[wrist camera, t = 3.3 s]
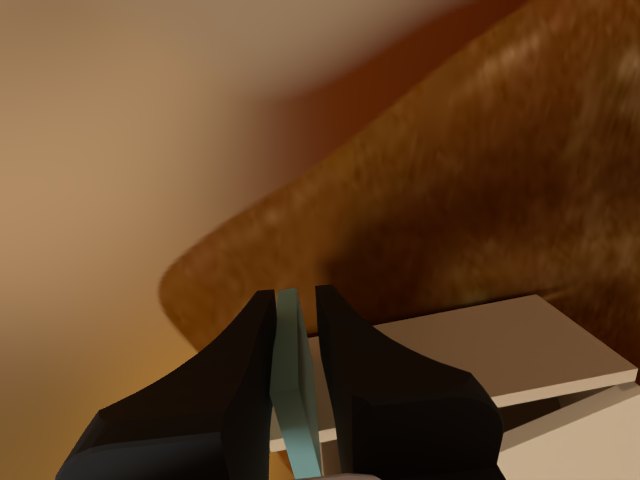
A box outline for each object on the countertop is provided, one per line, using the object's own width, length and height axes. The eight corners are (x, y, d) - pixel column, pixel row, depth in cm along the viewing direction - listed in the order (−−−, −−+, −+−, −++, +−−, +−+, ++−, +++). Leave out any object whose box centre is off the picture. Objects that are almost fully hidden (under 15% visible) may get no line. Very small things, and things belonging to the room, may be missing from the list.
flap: (542, 223, 16) (730, 303, 9) (535, 303, 17) (689, 422, 11) (256, 277, 15) (229, 401, 9) (277, 353, 17) (268, 506, 10)
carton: (534, 304, 18) (646, 391, 12) (575, 437, 22) (671, 546, 16) (308, 408, 19) (315, 529, 14) (387, 514, 23) (417, 639, 18)
